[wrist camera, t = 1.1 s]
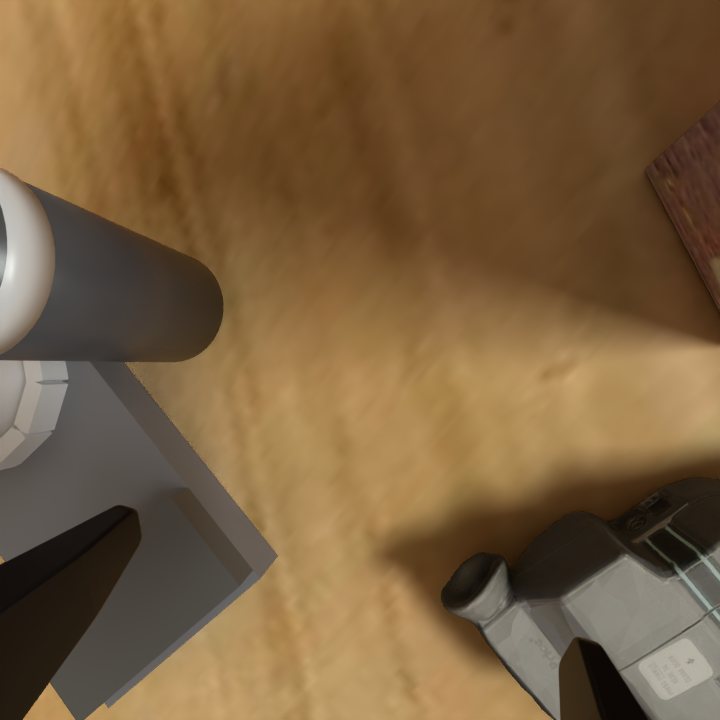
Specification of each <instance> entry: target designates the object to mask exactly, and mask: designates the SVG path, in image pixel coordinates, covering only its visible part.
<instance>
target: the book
mask: <svg viewBox="0 0 720 720" xmlns="http://www.w3.org/2000/svg"><path fill="white" fill-rule="evenodd" d="M645 171H646V173H647V175H648V177H649V179H650V181H651V183H652V184H653V186H654V188H655V190H656V192H657V194H658V196H659V198H660V200H661V201H662V203H663V205H664V207H665V209H666V211H667V213H668V215H669V217H670V218H671V220H672V222H673V224H674V226H675V228H676V230H677V232H678V234H679V235H680V237H681V239H682V241H683V243H684V245H685V247H686V249H687V251H688V252H689V254H690V256H691V258H692V260H693V262H694V264H695V266H696V268H697V270H698V271H699V273H700V275H701V277H702V279H703V281H704V283H705V285H706V287H707V288H708V290H709V292H710V294H711V296H712V298H713V300H714V302H715V304H716V305H717V307H718V309H719V311H720V102H719V103H717V104H716V105H715V106H714V107H713V108H712V109H711V110H710V111H709V112H707V113H706V114H705V115H704V116H703V117H702V118H701V119H700V120H699V121H698V122H696V123H695V124H694V125H693V126H692V127H691V128H690V129H689V130H688V131H686V132H685V133H684V134H683V135H682V136H681V137H680V138H679V139H678V140H677V141H675V142H674V143H673V144H672V145H671V146H670V147H669V148H668V149H667V150H665V151H664V152H663V153H662V154H661V155H660V156H659V157H658V158H657V159H656V160H654V161H653V162H652V163H651V164H650V165H649V166H648V167H647V168H646V169H645Z"/></svg>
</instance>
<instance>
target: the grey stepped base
mask: <svg viewBox="0 0 720 720" xmlns="http://www.w3.org/2000/svg"><path fill="white" fill-rule="evenodd" d="M116 505H124V506H128V507H131V508H135V509H136V510H137V511H138V514H139V520H140V525H141V531H142V539H141V542H140V545H139V547H138V548H137V550H136V552H135V553H134V555H133V557H132V558H131V560H130V562H129V564H128V565H127V567H126V569H125V570H124V572H123V574H122V575H121V577H120V579H119V580H118V582H117V584H116V585H115V587H114V589H113V590H112V592H111V594H110V596H109V597H108V599H107V601H106V602H105V604H104V606H103V607H102V609H101V610H100V612H99V614H98V615H97V617H96V618H95V620H94V621H93V622H92V624H91V625H90V627H89V628H88V630H87V631H86V632H85V634H84V635H83V636H82V638H81V639H80V641H79V642H78V643H77V645H76V646H75V648H74V649H73V650H72V652H71V653H70V655H69V656H68V657H67V659H66V660H65V661H64V663H63V664H62V666H61V667H60V668H59V670H58V671H57V673H56V674H55V675H54V677H53V678H52V679H51V681H50V683H51V685H52V686H53V688H54V689H55V691H56V692H57V693H58V695H59V696H60V698H61V699H62V701H63V702H64V704H65V705H66V706H67V708H68V709H69V711H70V712H71V714H72V715H73V717H74V718H75V719H76V720H84V719H85V718H87V717H88V716H89V715H90V714H91V713H92V712H94V711H95V710H96V709H97V708H98V707H99V706H101V705H102V704H103V703H105V704H106V705H107V707H108V708H109V707H110V706H112V705H113V704H114V703H115V702H116V701H117V700H119V699H120V698H121V697H122V696H123V695H125V694H126V693H127V692H128V691H129V690H130V689H132V688H133V687H134V686H135V685H136V684H137V683H139V682H140V681H141V680H142V679H143V678H144V677H146V676H147V675H148V674H149V673H150V672H151V671H153V670H154V669H155V668H156V667H157V666H158V665H160V664H161V663H162V662H163V661H164V660H165V659H167V658H168V657H169V656H170V655H171V654H172V653H174V652H175V651H176V650H177V649H178V648H180V647H181V646H182V645H183V644H184V643H185V642H187V641H188V640H189V639H190V638H191V637H192V636H194V635H195V634H196V633H197V632H198V631H199V630H201V629H202V628H203V627H204V626H205V625H206V624H208V623H209V622H210V621H211V620H212V619H213V618H215V617H216V616H217V615H218V614H219V613H220V612H222V611H223V610H224V609H225V608H226V607H227V606H229V605H230V604H231V603H232V602H233V601H235V600H236V599H237V598H238V597H239V596H240V595H242V594H243V593H244V592H245V591H246V590H247V589H249V588H250V587H251V586H252V585H253V584H254V583H256V582H257V581H258V580H259V579H260V578H261V577H262V576H263V574H264V573H265V572H266V570H267V569H268V568H269V567H270V565H271V564H272V563H273V562H274V560H275V559H276V558H277V557H278V555H277V554H276V553H275V552H274V550H273V549H272V548H271V546H270V545H269V544H268V543H267V541H266V540H265V539H264V538H263V536H262V535H261V534H260V533H259V531H258V530H257V529H256V528H255V526H254V525H253V524H252V523H251V521H250V520H249V519H248V518H247V516H246V515H245V514H244V513H243V511H242V510H241V509H240V507H239V506H238V505H237V504H236V502H235V501H234V500H233V499H232V497H231V496H230V495H229V494H228V492H227V491H226V490H225V489H224V487H223V486H222V485H221V484H220V482H219V481H218V480H217V479H216V477H215V476H214V475H213V474H212V472H211V471H210V470H209V469H208V467H207V466H206V465H205V463H204V462H203V461H202V460H201V458H200V457H199V456H198V455H197V453H196V452H195V451H194V450H193V448H192V447H191V446H190V445H189V443H188V442H187V441H186V440H185V438H184V437H183V436H182V435H181V433H180V432H179V431H178V430H177V428H176V427H175V426H174V424H173V423H172V422H171V421H170V419H169V418H168V417H167V416H166V414H165V413H164V412H163V411H162V409H161V408H160V407H159V406H158V404H157V403H156V402H155V401H154V399H153V398H152V397H151V396H150V394H149V393H148V392H147V391H146V389H145V388H144V387H143V386H142V384H141V383H140V382H139V380H138V379H137V378H136V377H135V375H134V374H133V373H132V372H131V370H130V369H129V368H128V367H127V365H126V364H125V363H124V362H106V361H8V360H0V555H1V557H2V558H3V559H4V561H5V562H6V561H8V560H10V559H12V558H14V557H16V556H18V555H20V554H22V553H24V552H26V551H28V550H30V549H32V548H34V547H36V546H37V545H39V544H41V543H43V542H45V541H47V540H49V539H51V538H53V537H55V536H57V535H59V534H61V533H63V532H65V531H67V530H69V529H71V528H73V527H74V526H76V525H78V524H80V523H82V522H84V521H86V520H88V519H90V518H92V517H94V516H96V515H98V514H100V513H102V512H104V511H106V510H108V509H110V508H111V507H114V506H116Z"/></svg>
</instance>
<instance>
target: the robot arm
mask: <svg viewBox="0 0 720 720" xmlns="http://www.w3.org/2000/svg"><path fill="white" fill-rule="evenodd" d="M141 539H142V531H141V525H140V520H139V514H138V511H137V510H136V509H135V508H131V507H128V506H124V505H116V506H114V507H111V508H110V509H108V510H106V511H104V512H102V513H100V514H98V515H96V516H94V517H92V518H90V519H88V520H86V521H84V522H82V523H80V524H78V525H76V526H74V527H73V528H71V529H69V530H67V531H65V532H63V533H61V534H59V535H57V536H55V537H53V538H51V539H49V540H47V541H45V542H43V543H41V544H39V545H37V546H36V547H34V548H32V549H30V550H28V551H26V552H24V553H22V554H20V555H18V556H16V557H14V558H12V559H10V560H8V561H6V562H4V563H2V564H0V720H23V718H24V717H25V715H26V714H27V713H28V711H29V710H30V709H31V707H32V706H33V704H34V703H35V702H36V700H37V699H38V697H39V696H40V695H41V693H42V692H43V691H44V689H45V688H46V686H47V685H48V684H49V682H50V681H51V679H52V678H53V677H54V675H55V674H56V673H57V671H58V670H59V668H60V667H61V666H62V664H63V663H64V661H65V660H66V659H67V657H68V656H69V655H70V653H71V652H72V650H73V649H74V648H75V646H76V645H77V643H78V642H79V641H80V639H81V638H82V636H83V635H84V634H85V632H86V631H87V630H88V628H89V627H90V625H91V624H92V622H93V621H94V620H95V618H96V617H97V615H98V614H99V612H100V610H101V609H102V607H103V606H104V604H105V602H106V601H107V599H108V597H109V596H110V594H111V592H112V590H113V589H114V587H115V585H116V584H117V582H118V580H119V579H120V577H121V575H122V574H123V572H124V570H125V569H126V567H127V565H128V564H129V562H130V560H131V558H132V557H133V555H134V553H135V552H136V550H137V548H138V547H139V545H140V542H141ZM559 698H560V720H649V718H648V717H647V715H646V714H645V712H644V710H643V709H642V707H641V706H640V704H639V703H638V701H637V700H636V698H635V696H634V695H633V693H632V692H631V690H630V689H629V687H628V686H627V684H626V682H625V681H624V679H623V678H622V676H621V675H620V673H619V672H618V670H617V668H616V667H615V665H614V664H613V662H612V661H611V659H610V658H609V656H608V654H607V653H606V651H605V650H604V648H603V647H602V646H601V645H600V644H599V643H597V642H596V641H592V640H589V639H585V638H582V637H575V638H573V640H572V641H571V643H570V645H569V646H568V648H567V650H566V651H565V653H564V655H563V656H562V658H561V660H560V663H559Z"/></svg>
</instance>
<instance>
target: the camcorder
mask: <svg viewBox="0 0 720 720" xmlns="http://www.w3.org/2000/svg"><path fill="white" fill-rule="evenodd" d="M441 600H442V603H443V606H444V607H445V609H446V610H447V611H449V612H450V613H452V614H455V615H457V616H460V617H463V618H466V619H468V620H469V621H471V622H472V623H473V624H474V625H475V626H476V627H477V628H478V630H479V631H480V633H481V634H482V636H483V637H484V639H485V641H486V642H487V644H488V645H489V646H490V647H491V649H492V650H493V651H494V652H495V654H496V655H497V656H498V657H499V659H500V660H501V662H502V663H503V665H504V666H505V668H506V669H507V670H508V671H509V673H510V674H511V675H512V676H513V677H514V679H515V680H516V681H517V682H518V683H519V684H520V686H521V687H522V688H523V689H524V690H525V691H526V692H528V693H529V694H530V695H531V696H532V697H533V699H534V700H535V701H536V702H537V704H538V705H539V706H540V707H541V709H542V710H543V711H545V712H546V713H547V714H548V715H549V716H550V717H551V718H553V719H554V720H560V698H559V663H560V660H561V658H562V656H563V655H564V653H565V651H566V650H567V648H568V646H569V645H570V643H571V641H572V640H573V638H575V637H582V638H585V639H589V640H592V641H596V642H597V643H599V644H600V645H601V646H602V647H603V648H604V650H605V651H606V653H607V654H608V656H609V658H610V659H611V661H612V662H613V664H614V665H615V667H616V668H617V670H618V672H619V673H620V675H621V676H622V678H623V679H624V681H625V682H626V684H627V686H628V687H629V689H630V690H631V692H632V693H633V695H634V696H635V698H636V700H637V701H638V703H639V704H640V706H641V707H642V709H643V710H644V712H645V714H646V715H647V717H648V718H649V720H720V480H716V479H710V478H691V479H685V480H682V481H679V482H675V483H672V484H670V485H667V486H665V487H663V488H660V489H658V490H657V491H656V492H654V493H653V494H651V495H650V496H649V497H647V498H646V499H645V500H643V501H642V502H640V503H639V504H638V505H636V506H635V507H633V508H632V509H630V510H629V511H627V512H626V513H624V514H623V515H621V516H620V517H618V518H617V519H615V520H614V521H612V522H607V521H605V520H603V519H601V518H599V517H597V516H595V515H593V514H591V513H586V512H573V513H570V514H568V515H565V516H564V517H563V518H562V519H560V520H559V521H557V522H555V523H554V524H553V525H552V526H551V527H550V528H549V529H548V530H546V531H545V532H544V533H542V534H541V535H539V536H538V537H536V539H535V540H534V541H533V542H532V543H531V544H530V545H529V546H528V548H527V549H526V551H525V552H524V553H523V555H522V556H521V557H520V558H519V559H518V560H517V561H516V562H515V564H514V565H513V566H512V567H511V568H510V569H509V567H508V563H507V561H506V560H505V558H504V557H503V556H501V555H499V554H492V553H477V554H476V555H474V556H473V557H471V558H469V559H468V560H466V561H464V562H463V563H462V564H461V565H460V566H459V568H458V569H457V570H456V571H455V572H454V574H453V576H452V577H451V579H450V581H449V582H448V583H447V584H446V585H445V587H444V588H443V590H442V593H441Z"/></svg>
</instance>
